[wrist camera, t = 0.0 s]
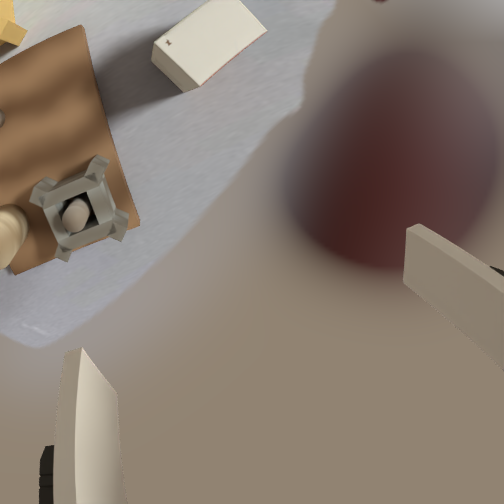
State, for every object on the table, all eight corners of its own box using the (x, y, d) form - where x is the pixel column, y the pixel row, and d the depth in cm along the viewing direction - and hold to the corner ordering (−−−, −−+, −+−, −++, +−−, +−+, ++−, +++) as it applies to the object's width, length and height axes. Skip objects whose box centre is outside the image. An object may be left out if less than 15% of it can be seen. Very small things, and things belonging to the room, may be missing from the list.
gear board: (-43, 98, 21) (-79, 102, 14) (84, 28, 24) (69, 9, 17) (19, 267, 33) (0, 302, 26) (139, 219, 36) (139, 248, 30)
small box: (183, 93, 32) (198, 89, 23) (149, 60, 29) (150, 43, 20) (236, 48, 31) (270, 31, 22) (204, 15, 28) (227, -15, 19)
